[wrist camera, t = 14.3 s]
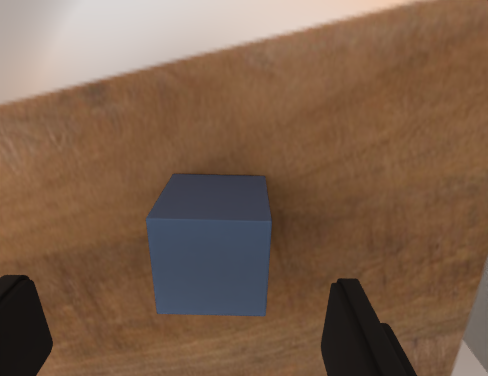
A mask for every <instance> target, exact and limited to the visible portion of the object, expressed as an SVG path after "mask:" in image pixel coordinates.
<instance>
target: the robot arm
mask: <svg viewBox="0 0 488 376" xmlns="http://www.w3.org/2000/svg"><path fill="white" fill-rule="evenodd" d="M52 346H53V341H52V337H51V334H50V331H49V328H48V325H47V322H46V318H45V315H44V312H43V309H42V306H41V303H40V300H39V296H38V293H37V290H36V287H35V284H34V282H33V281H32V280H30V279H29V277H28V276H26V275H4V276H2V277H1V278H0V376H36V375H37V373H38V372H39V370H40V369H41V367H42V365H43V364H44V362H45V361H46V359H47V357H48V356H49V354H50V352H51V350H52ZM321 351H322V357H323V360H324V364H325V368H326V371H327V375H328V376H417V375H416V373H415V371H414V369H413V367H412V365H411V363H410V362H409V360H408V358H407V356H406V354H405V352H404V351H403V349H402V347H401V345H400V343H399V341H398V339H397V338H396V336H395V334H394V332H393V330H392V329H391V327H390V326H389V325H388V324H386V323H380V321H379V319H378V317H377V315H376V313H375V312H374V310H373V308H372V306H371V304H370V302H369V300H368V298H367V296H366V294H365V292H364V290H363V288H362V286H361V284H360V282H359V281H358V279H343V278H339V279H338V280H337V283H332V284H331V289H330V295H329V300H328V306H327V312H326V318H325V324H324V329H323V335H322V341H321Z"/></svg>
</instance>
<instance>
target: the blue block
mask: <svg viewBox="0 0 488 376" xmlns="http://www.w3.org/2000/svg"><path fill="white" fill-rule="evenodd" d="M146 224H147V233H148V241H149V250H150V258H151V267H152V275H153V284H154V292H155V301H156V309H157V314H191V315H233V316H265V315H266V303H267V288H268V273H269V258H270V243H271V228H272V219H271V213H270V206H269V199H268V192H267V186H266V179H265V176H242V175H201V174H173V175H172V177H171V178H170V180H169V182H168V183H167V185H166V187H165V188H164V190H163V191H162V193H161V195H160V196H159V198H158V200H157V201H156V203H155V205H154V206H153V208H152V209H151V211H150V213H149V214H148V216H147V218H146Z"/></svg>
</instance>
